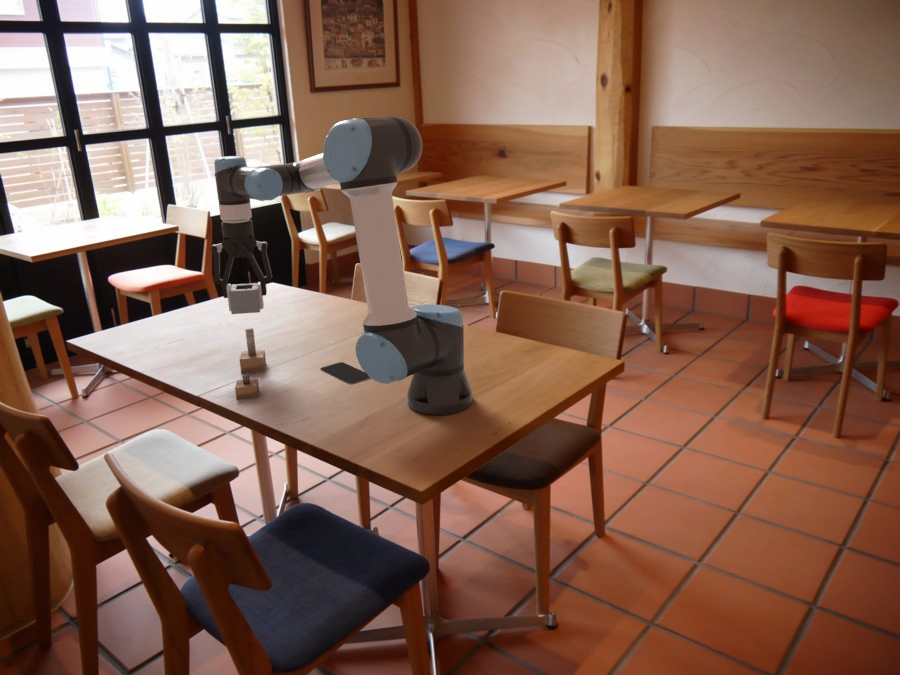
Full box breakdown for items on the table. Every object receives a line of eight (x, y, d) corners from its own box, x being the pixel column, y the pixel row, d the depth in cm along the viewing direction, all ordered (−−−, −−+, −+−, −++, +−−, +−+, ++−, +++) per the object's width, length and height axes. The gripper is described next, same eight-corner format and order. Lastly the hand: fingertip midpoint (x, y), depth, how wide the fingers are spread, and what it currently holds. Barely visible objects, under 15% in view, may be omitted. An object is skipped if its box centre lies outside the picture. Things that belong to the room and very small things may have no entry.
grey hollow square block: (259, 312, 190) (257, 289, 188) (231, 314, 189) (228, 291, 187) (261, 304, 196) (259, 282, 194) (234, 306, 195) (231, 284, 193)
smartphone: (342, 361, 201) (373, 376, 190) (342, 363, 201) (374, 378, 190) (318, 368, 196) (349, 383, 185) (318, 370, 196) (349, 386, 185)
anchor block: (257, 397, 179) (255, 378, 177) (236, 399, 178) (234, 380, 177) (259, 389, 184) (257, 370, 182) (238, 391, 183) (236, 372, 181)
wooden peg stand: (264, 371, 195) (260, 331, 192) (241, 373, 194) (236, 333, 191) (266, 363, 201) (261, 325, 197) (243, 365, 200) (238, 326, 197)
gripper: (278, 215, 190) (286, 302, 197) (197, 219, 187) (209, 307, 194) (276, 220, 183) (285, 309, 190) (192, 224, 180) (205, 315, 187)
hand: (246, 308), depth 192 cm, fingers closed on grey hollow square block, 7 cm apart
